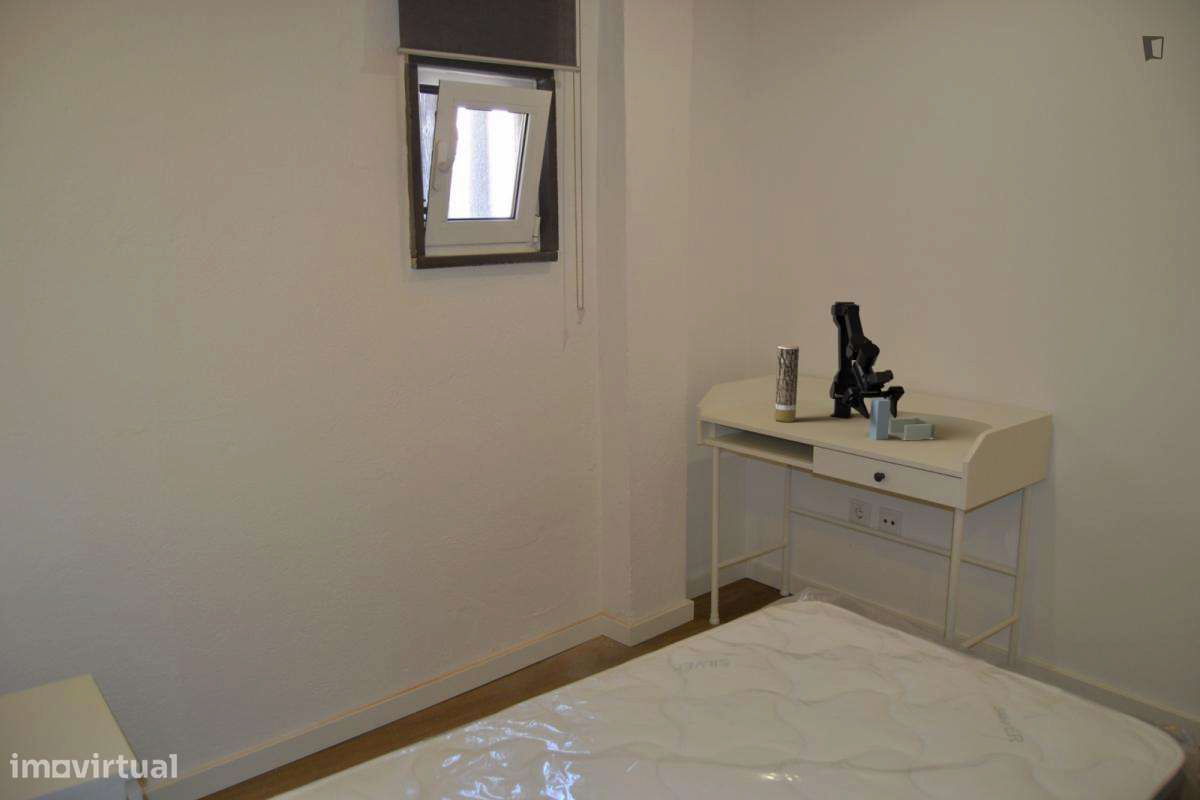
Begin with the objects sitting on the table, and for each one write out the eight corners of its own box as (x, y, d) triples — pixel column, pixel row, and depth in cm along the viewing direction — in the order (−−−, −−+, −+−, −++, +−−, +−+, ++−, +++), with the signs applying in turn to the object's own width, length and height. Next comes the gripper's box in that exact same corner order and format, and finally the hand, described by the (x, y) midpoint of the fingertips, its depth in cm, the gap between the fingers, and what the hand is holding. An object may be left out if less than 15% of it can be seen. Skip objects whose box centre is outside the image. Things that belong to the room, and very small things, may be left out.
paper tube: (796, 419, 293) (800, 345, 289) (794, 423, 287) (797, 347, 282) (776, 417, 296) (779, 344, 291) (773, 421, 289) (776, 346, 285)
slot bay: (904, 440, 264) (905, 425, 263) (887, 433, 273) (888, 419, 272) (933, 439, 266) (935, 424, 265) (915, 432, 275) (917, 418, 274)
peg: (869, 437, 268) (871, 398, 266) (880, 436, 269) (883, 398, 267) (875, 440, 265) (878, 401, 262) (887, 439, 265) (890, 400, 263)
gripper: (848, 361, 264) (865, 404, 256) (903, 360, 268) (922, 401, 260) (834, 383, 273) (850, 424, 265) (887, 381, 277) (905, 422, 269)
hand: (882, 418), depth 264 cm, fingers open, 9 cm apart
